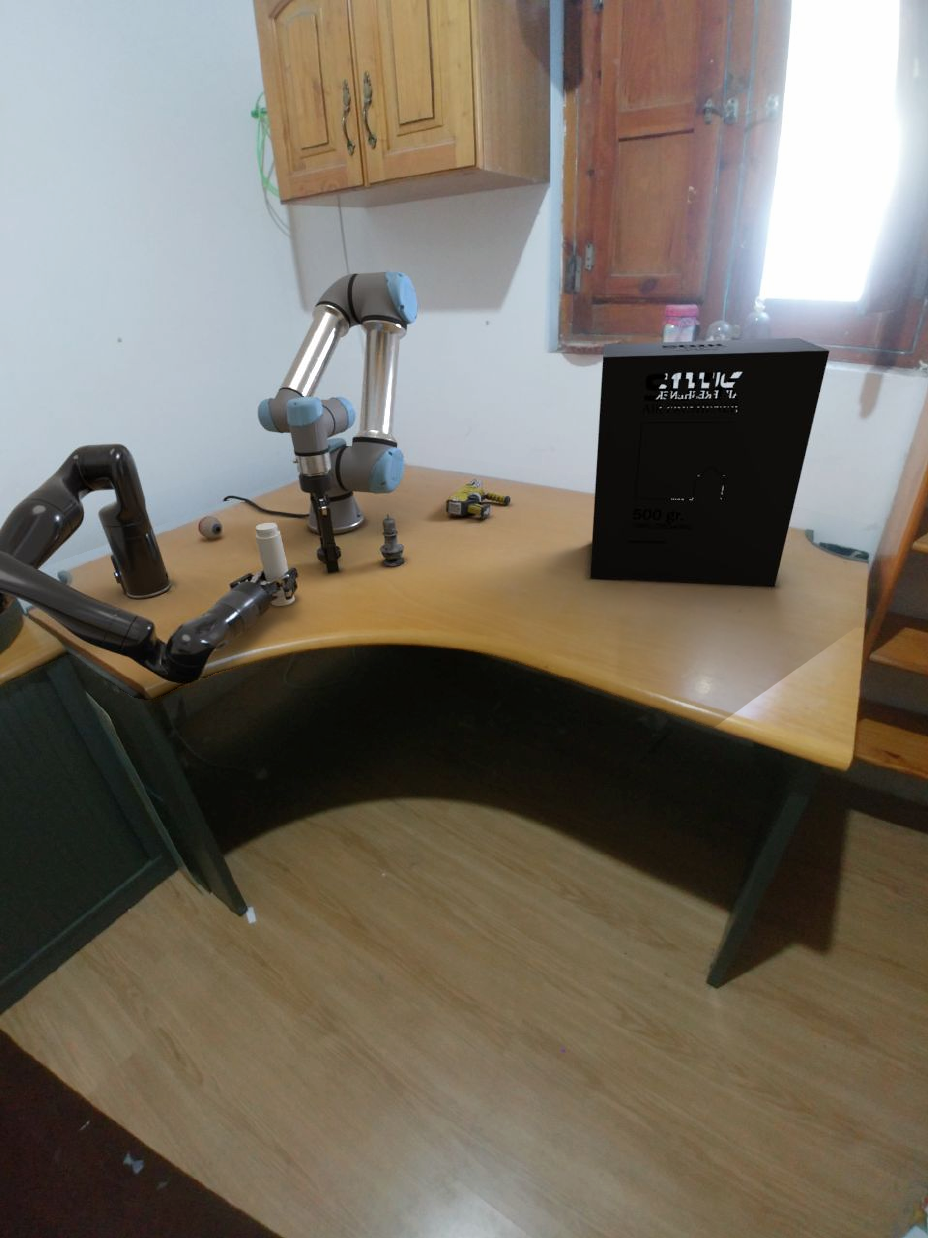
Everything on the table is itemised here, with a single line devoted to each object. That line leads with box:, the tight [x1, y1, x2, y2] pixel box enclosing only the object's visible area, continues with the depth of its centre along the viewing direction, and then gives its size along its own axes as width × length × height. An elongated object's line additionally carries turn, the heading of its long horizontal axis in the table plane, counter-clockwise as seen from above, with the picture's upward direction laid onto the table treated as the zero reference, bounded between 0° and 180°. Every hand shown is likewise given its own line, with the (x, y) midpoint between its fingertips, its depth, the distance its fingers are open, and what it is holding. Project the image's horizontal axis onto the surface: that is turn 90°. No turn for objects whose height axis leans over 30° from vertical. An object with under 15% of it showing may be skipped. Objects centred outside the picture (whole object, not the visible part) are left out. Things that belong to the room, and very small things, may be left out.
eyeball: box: [197, 516, 223, 540], centre depth 164 cm, size 6×6×6 cm
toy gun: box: [445, 478, 511, 520], centre depth 176 cm, size 5×24×15 cm
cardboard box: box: [589, 337, 830, 587], centre depth 126 cm, size 38×20×45 cm, turn 78°
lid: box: [316, 545, 342, 563], centre depth 144 cm, size 6×6×2 cm
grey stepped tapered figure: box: [379, 514, 405, 567], centre depth 143 cm, size 6×6×12 cm
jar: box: [255, 522, 296, 607], centre depth 127 cm, size 5×5×17 cm
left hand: (283, 570), depth 130 cm, fingers closed on jar, 5 cm apart
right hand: (331, 566), depth 145 cm, fingers closed on lid, 6 cm apart
